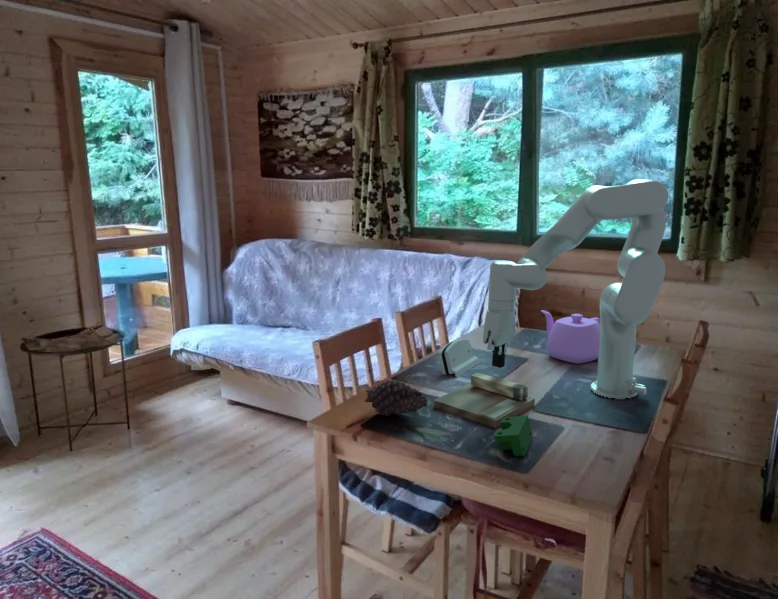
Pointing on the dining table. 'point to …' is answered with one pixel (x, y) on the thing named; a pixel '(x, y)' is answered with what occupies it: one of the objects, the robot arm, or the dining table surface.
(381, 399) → the pine cone
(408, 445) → the dining table surface
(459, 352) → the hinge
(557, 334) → the teapot
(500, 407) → the stool seat
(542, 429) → the dining table surface
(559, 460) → the dining table surface
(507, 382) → the folding leg
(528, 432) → the clamp
